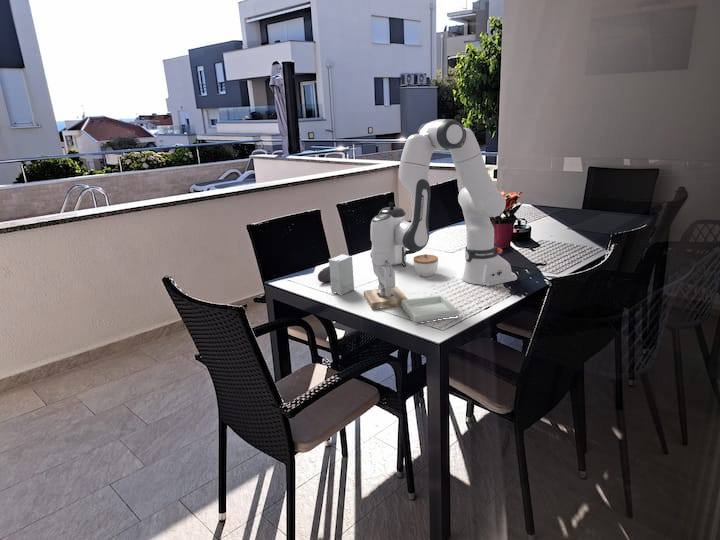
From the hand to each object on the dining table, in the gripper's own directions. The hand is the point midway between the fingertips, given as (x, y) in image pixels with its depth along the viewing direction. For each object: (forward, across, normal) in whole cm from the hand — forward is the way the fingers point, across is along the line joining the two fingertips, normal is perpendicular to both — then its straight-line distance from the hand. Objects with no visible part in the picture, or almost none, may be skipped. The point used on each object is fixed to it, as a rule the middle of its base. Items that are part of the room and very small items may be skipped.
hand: (384, 291), depth 190 cm
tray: (+4, -17, -12) cm, 21 cm away
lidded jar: (+4, +24, -25) cm, 35 cm away
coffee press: (+4, +44, -17) cm, 47 cm away
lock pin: (+4, 0, 0) cm, 4 cm away
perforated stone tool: (+4, +32, +16) cm, 36 cm away
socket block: (+4, 0, 0) cm, 4 cm away
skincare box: (+4, +16, +14) cm, 22 cm away
